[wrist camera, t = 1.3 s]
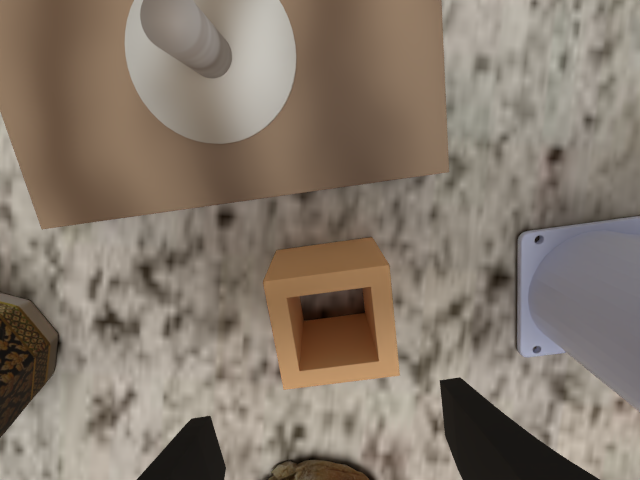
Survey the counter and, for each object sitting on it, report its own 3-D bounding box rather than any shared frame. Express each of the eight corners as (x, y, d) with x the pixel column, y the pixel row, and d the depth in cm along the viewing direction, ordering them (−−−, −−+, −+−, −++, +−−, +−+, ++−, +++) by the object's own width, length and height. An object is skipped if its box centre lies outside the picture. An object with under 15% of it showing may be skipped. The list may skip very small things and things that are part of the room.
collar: (372, 237, 20) (389, 264, 15) (381, 324, 21) (399, 375, 16) (276, 250, 20) (262, 281, 15) (291, 335, 21) (283, 389, 17)
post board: (426, -144, 15) (491, -322, 10) (442, 171, 19) (497, 179, 13) (-43, -65, 16) (-247, -186, 10) (55, 225, 20) (-56, 256, 14)
